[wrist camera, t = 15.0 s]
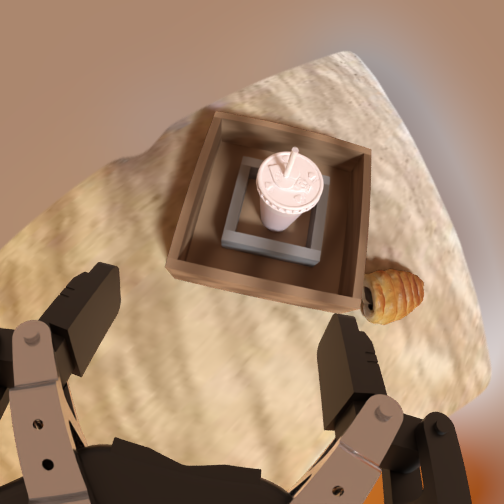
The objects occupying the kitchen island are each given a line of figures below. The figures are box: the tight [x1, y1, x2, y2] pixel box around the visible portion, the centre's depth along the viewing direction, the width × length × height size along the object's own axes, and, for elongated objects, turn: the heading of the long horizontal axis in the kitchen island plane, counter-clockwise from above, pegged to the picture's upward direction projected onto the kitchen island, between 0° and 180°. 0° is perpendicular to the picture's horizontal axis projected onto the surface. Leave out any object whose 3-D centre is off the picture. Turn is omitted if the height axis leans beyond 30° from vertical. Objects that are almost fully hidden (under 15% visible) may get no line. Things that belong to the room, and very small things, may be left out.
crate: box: [165, 111, 371, 314], centre depth 35 cm, size 20×20×6 cm
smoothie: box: [256, 147, 323, 232], centre depth 31 cm, size 6×6×14 cm
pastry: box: [362, 269, 424, 325], centre depth 35 cm, size 9×7×4 cm
